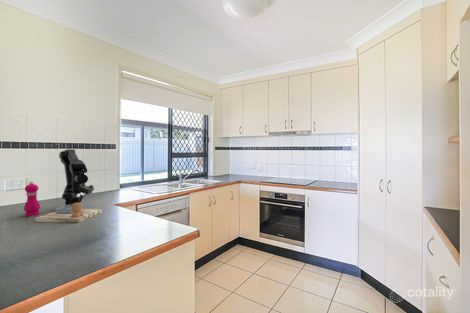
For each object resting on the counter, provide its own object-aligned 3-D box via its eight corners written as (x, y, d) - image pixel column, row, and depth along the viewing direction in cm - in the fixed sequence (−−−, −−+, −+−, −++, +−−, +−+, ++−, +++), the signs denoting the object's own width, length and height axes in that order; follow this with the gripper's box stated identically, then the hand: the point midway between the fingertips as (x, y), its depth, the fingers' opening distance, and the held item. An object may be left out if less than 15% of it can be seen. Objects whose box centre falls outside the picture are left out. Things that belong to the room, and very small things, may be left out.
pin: (76, 218, 129) (76, 202, 129) (82, 218, 129) (82, 202, 129) (71, 220, 126) (71, 204, 125) (77, 220, 126) (77, 204, 125)
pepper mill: (30, 217, 131) (29, 182, 131) (20, 216, 133) (19, 182, 132) (43, 213, 138) (42, 180, 138) (33, 213, 140) (33, 180, 139)
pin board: (64, 211, 143) (64, 208, 143) (101, 212, 142) (101, 208, 142) (35, 221, 123) (35, 218, 123) (78, 222, 122) (78, 218, 122)
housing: (68, 209, 140) (67, 204, 140) (82, 209, 140) (82, 204, 140) (56, 213, 131) (56, 208, 131) (71, 213, 131) (71, 208, 131)
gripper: (79, 184, 133) (80, 211, 133) (99, 180, 151) (100, 203, 152) (61, 184, 133) (61, 210, 133) (83, 180, 152) (83, 203, 152)
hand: (78, 206), depth 143 cm, fingers closed
